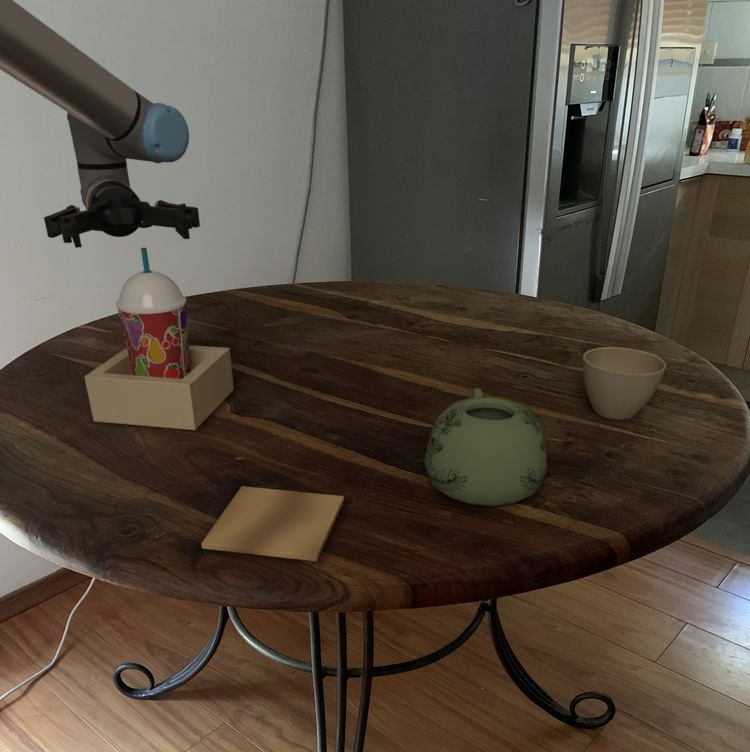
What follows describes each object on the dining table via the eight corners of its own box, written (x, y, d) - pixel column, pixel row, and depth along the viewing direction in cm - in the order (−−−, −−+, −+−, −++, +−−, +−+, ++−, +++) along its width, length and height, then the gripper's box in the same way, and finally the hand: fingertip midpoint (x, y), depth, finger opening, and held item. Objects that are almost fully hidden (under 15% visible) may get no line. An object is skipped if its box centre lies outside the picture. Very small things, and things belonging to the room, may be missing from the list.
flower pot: (603, 432, 90) (613, 377, 86) (560, 402, 98) (568, 350, 95) (671, 422, 93) (683, 368, 89) (624, 393, 101) (634, 343, 97)
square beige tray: (93, 421, 92) (83, 376, 89) (142, 382, 104) (135, 341, 101) (195, 430, 90) (189, 384, 87) (233, 389, 102) (229, 347, 99)
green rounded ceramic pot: (557, 514, 73) (569, 435, 69) (428, 515, 73) (432, 436, 69) (524, 443, 87) (532, 374, 83) (416, 445, 87) (418, 375, 82)
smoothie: (210, 396, 99) (192, 243, 89) (179, 421, 92) (156, 257, 82) (155, 389, 101) (132, 239, 91) (121, 413, 94) (91, 252, 84)
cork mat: (201, 548, 68) (201, 543, 68) (242, 490, 77) (241, 485, 77) (317, 561, 66) (316, 556, 66) (344, 501, 75) (343, 496, 75)
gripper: (199, 227, 117) (231, 254, 100) (31, 239, 109) (34, 271, 92) (193, 176, 113) (225, 195, 97) (18, 184, 105) (20, 207, 88)
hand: (132, 232), depth 94 cm, fingers open, 13 cm apart
